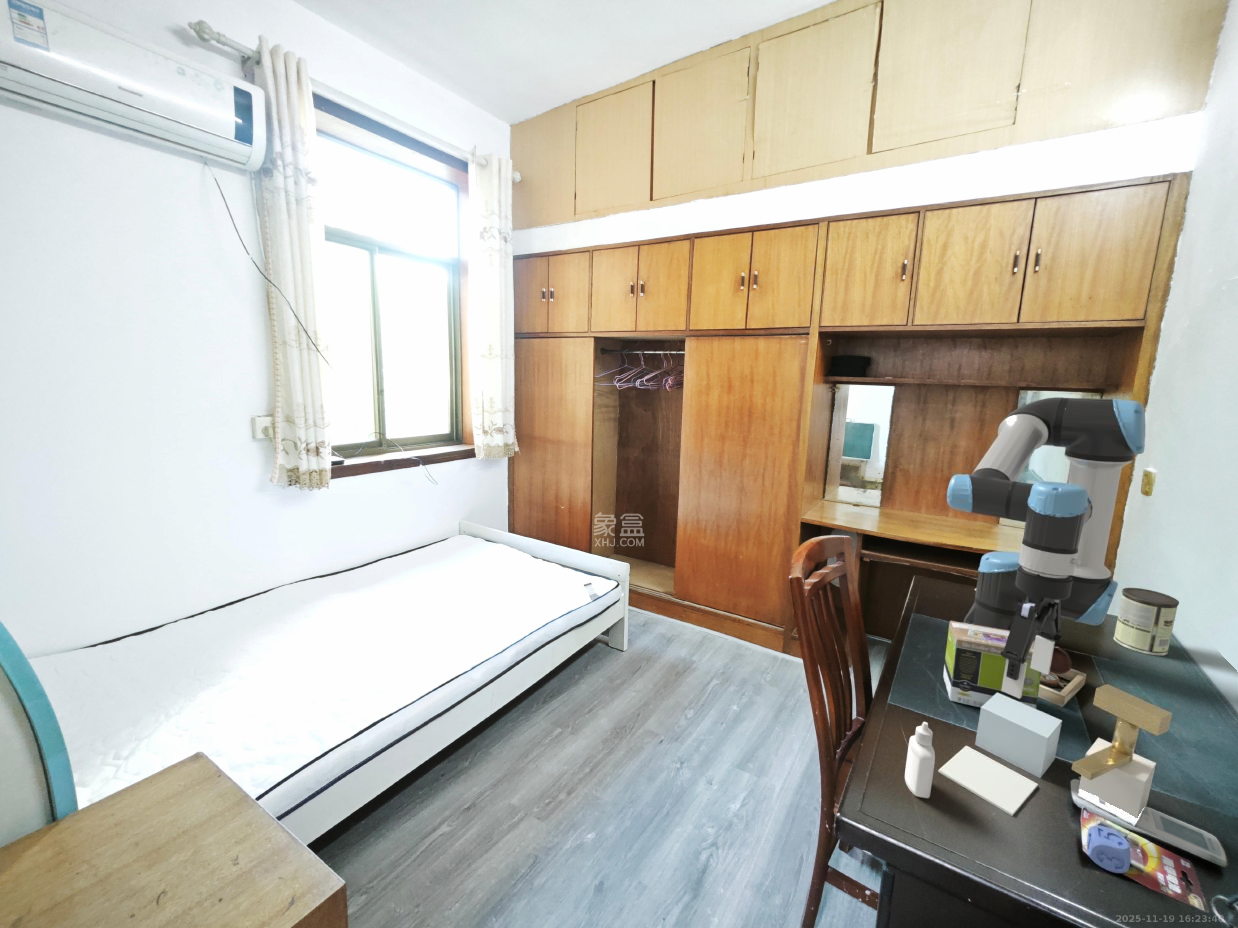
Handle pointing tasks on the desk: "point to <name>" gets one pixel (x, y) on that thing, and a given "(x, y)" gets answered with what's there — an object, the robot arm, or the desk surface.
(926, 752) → the eye dropper bottle
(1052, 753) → the cover
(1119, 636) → the coffee can
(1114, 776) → the white rectangular box
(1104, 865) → the decorative dice
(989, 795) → the mat
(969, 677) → the tea box
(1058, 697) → the beige square frame
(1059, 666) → the compass
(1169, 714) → the gold angular piece
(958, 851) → the desk surface
